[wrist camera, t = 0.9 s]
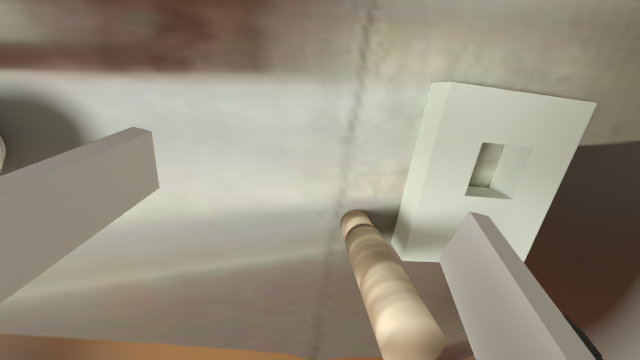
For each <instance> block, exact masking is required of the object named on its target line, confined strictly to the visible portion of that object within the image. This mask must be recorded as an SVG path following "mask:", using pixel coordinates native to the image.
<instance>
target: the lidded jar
mask: <svg viewBox="0 0 640 360" xmlns="http://www.w3.org/2000/svg"><path fill="white" fill-rule="evenodd" d="M5 158H6V145H5V142H4V140H3V138H2V137H1V135H0V171H1V169H2V167H3V162H4V160H5Z"/></svg>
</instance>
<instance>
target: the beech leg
mask: <svg viewBox="0 0 640 360" xmlns="http://www.w3.org/2000/svg"><path fill="white" fill-rule="evenodd" d="M340 225H341V229H342V232H343V234H344V237H345V243H346V250H347V253H348V256H349V259H350V262H351V265H352V268H353V271H354V274H355V277H356V280H357V283H358V286H359V288H360V291H361V294H362V297H363V300H364V303H365V306H366V309H367V312H368V315H369V318H370V321H371V324H372V327H373V330H374V333H375V336H376V338H377V341H378V344H379V347H380V350H381V353H382V356H383V359H384V360H435V359H436V358H437V357H438V356H439V355H440V354H441V352H442V351H443V348H444V345H445V338H444V335H443V333H442V331H441V330H440V328H439V327H438V325H437V323H436V322H435V320H434V319H433V317H432V315H431V314H430V312H429V310H428V309H427V307H426V306H425V304H424V302H423V301H422V299H421V298H420V296H419V294H418V293H417V291H416V289H415V288H414V286H413V285H412V283H411V281H410V280H409V278H408V277H407V275H406V273H405V272H404V270H403V268H402V267H401V265H400V264H399V262H398V260H397V259H396V257H395V256H394V254H393V252H392V251H391V249H390V247H389V246H388V244H387V243H386V241H385V239H384V238H383V236H382V235H381V233H380V232H379V231H378V230H377V229H376V228H375V227H374V226H373V224H372V223H371V221H370V219H369V218H368V216H367V215H366V214H365V213H364V212H363V211H360V210H352V211H349V212H347V213H346V214H345V215H344V216H343V217H342V219H341V223H340Z"/></svg>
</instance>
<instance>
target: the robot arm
mask: <svg viewBox="0 0 640 360" xmlns="http://www.w3.org/2000/svg"><path fill="white" fill-rule="evenodd" d="M158 188H159V182H158V175H157V168H156V161H155V154H154V146H153V139H152V132H151V131H148V130H144V129H140V128H136V127H131V128H128V129H126V130H123V131H120V132H118V133H115V134H112V135H110V136H107V137H104V138H101V139H99V140H96V141H93V142H91V143H88V144H85V145H83V146H80V147H77V148H75V149H72V150H69V151H67V152H64V153H61V154H58V155H56V156H53V157H50V158H48V159H45V160H42V161H40V162H37V163H34V164H32V165H29V166H26V167H24V168H21V169H18V170H15V171H13V172H10V173H7V174H5V175H2V176H0V303H1V302H3V301H4V300H6V299H7V298H8V297H10V296H11V295H12V294H14V293H15V292H17V291H18V290H19V289H21V288H22V287H23V286H25V285H26V284H28V283H29V282H30V281H32V280H33V279H34V278H36V277H37V276H39V275H40V274H41V273H43V272H44V271H45V270H47V269H48V268H50V267H51V266H52V265H54V264H55V263H56V262H58V261H59V260H61V259H62V258H63V257H65V256H66V255H67V254H69V253H70V252H72V251H73V250H74V249H76V248H77V247H78V246H80V245H81V244H83V243H84V242H85V241H87V240H88V239H89V238H91V237H92V236H94V235H95V234H96V233H98V232H99V231H100V230H102V229H103V228H105V227H106V226H107V225H109V224H110V223H111V222H113V221H114V220H116V219H117V218H118V217H120V216H121V215H122V214H124V213H125V212H127V211H128V210H129V209H131V208H132V207H133V206H135V205H136V204H138V203H139V202H140V201H142V200H143V199H145V198H146V197H147V196H149V195H150V194H151V193H153V192H154V191H156V190H157V189H158ZM439 261H440V264H441V267H442V269H443V272H444V275H445V277H446V280H447V283H448V285H449V288H450V291H451V294H452V296H453V299H454V302H455V304H456V307H457V310H458V313H459V315H460V318H461V321H462V323H463V326H464V329H465V331H466V334H467V337H468V340H469V342H470V345H471V348H472V350H473V353H474V356H475V359H476V360H603V359H602V355H601V354H600V353H599V352H598V350H597V349H596V348H595V346H594V345H593V344H592V342H591V341H590V340H589V338H588V337H587V336H586V335H585V334H584V333H583V332H582V331H581V330H580V329H579V328H578V327H577V326H576V325H575V324H574V323H573V322H572V321H571V320H570V319H569V318H567V317H566V316H565V315H564V314H562V313H561V312H560V311H559V310H558V308H557V307H556V306H555V304H554V303H553V302H552V300H551V299H550V298H549V296H548V295H547V294H546V292H545V291H544V290H543V288H542V287H541V286H540V284H539V283H538V282H537V280H536V279H535V278H534V276H533V275H532V274H531V272H530V271H529V270H528V268H527V267H526V265H525V264H524V263H523V261H522V260H521V259H520V257H519V256H518V255H517V253H516V252H515V251H514V249H513V248H512V247H511V245H510V244H509V243H508V241H507V240H506V239H505V237H504V236H503V235H502V233H501V232H500V231H499V229H498V228H497V227H496V225H495V224H494V223H493V221H492V220H491V219H490V217H489V216H486V215H483V214H479V213H475V212H471V211H469V213H468V214H467V216H466V217H465V219H464V221H463V222H462V224H461V225H460V227H459V228H458V230H457V231H456V233H455V235H454V236H453V238H452V239H451V241H450V242H449V244H448V245H447V247H446V249H445V250H444V252H443V253H442V255H441V256H440V258H439Z"/></svg>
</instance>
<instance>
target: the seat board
mask: <svg viewBox="0 0 640 360" xmlns="http://www.w3.org/2000/svg"><path fill="white" fill-rule="evenodd" d="M596 105H597V103H594V102H587V101H580V100H573V99H566V98H559V97H553V96H546V95H539V94H532V93H525V92H518V91H511V90H504V89H498V88H491V87H484V86H477V85H470V84H463V83H456V82H437V83H431V84H430V88H429V92H428V96H427V100H426V104H425V109H424V113H423V117H422V121H421V125H420V129H419V133H418V137H417V141H416V145H415V149H414V153H413V157H412V161H411V165H410V169H409V173H408V177H407V181H406V185H405V189H404V193H403V197H402V201H401V205H400V209H399V213H398V217H397V221H396V225H395V229H394V233H393V237H392V241H391V244H392V245H393V247H394V249H395V250H396V252H397V253H398V255H399V256H400V258H401V259H402V261H424V262H440V261H439V258H440V256H441V255H442V253H443V252H444V250H445V249H446V247H447V245H448V244H449V242H450V241H451V239H452V238H453V236H454V235H455V233H456V231H457V230H458V228H459V227H460V225H461V224H462V222H463V221H464V219H465V217H466V216H467V214H468V213H469V211H471V212H475V213H479V214H483V215H486V216H489V217H490V219H491V220H492V221H493V223H494V224H495V225H496V227H497V228H498V229H499V231H500V232H501V233H502V235H503V236H504V237H505V239H506V240H507V241H508V243H509V244H510V245H511V247H512V248H513V249H514V251H515V252H516V253H517V255H518V256H519V257H520V259H521V260H522V261H523V263H524V260H525V258H526V256H527V254H528V252H529V250H530V248H531V245H532V243H533V241H534V239H535V237H536V235H537V232H538V230H539V228H540V226H541V224H542V222H543V219H544V217H545V215H546V213H547V211H548V209H549V207H550V205H551V202H552V200H553V198H554V196H555V194H556V191H557V189H558V187H559V185H560V183H561V181H562V179H563V176H564V174H565V172H566V170H567V168H568V166H569V164H570V161H571V159H572V157H573V155H574V153H575V151H576V149H577V146H578V144H579V142H580V140H581V138H582V136H583V133H584V131H585V129H586V127H587V125H588V123H589V121H590V118H591V116H592V114H593V112H594V110H595V108H596ZM483 142H485V143H494V144H503V145H504V148H503V150H502V153H501V156H500V159H499V161H498V164H497V167H496V170H495V172H494V175H493V178H492V180H491V183H490V186H489V188H485V187H473V186H468V184H469V181H470V178H471V175H472V173H473V170H474V167H475V164H476V161H477V158H478V155H479V152H480V149H481V146H482V143H483Z"/></svg>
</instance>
